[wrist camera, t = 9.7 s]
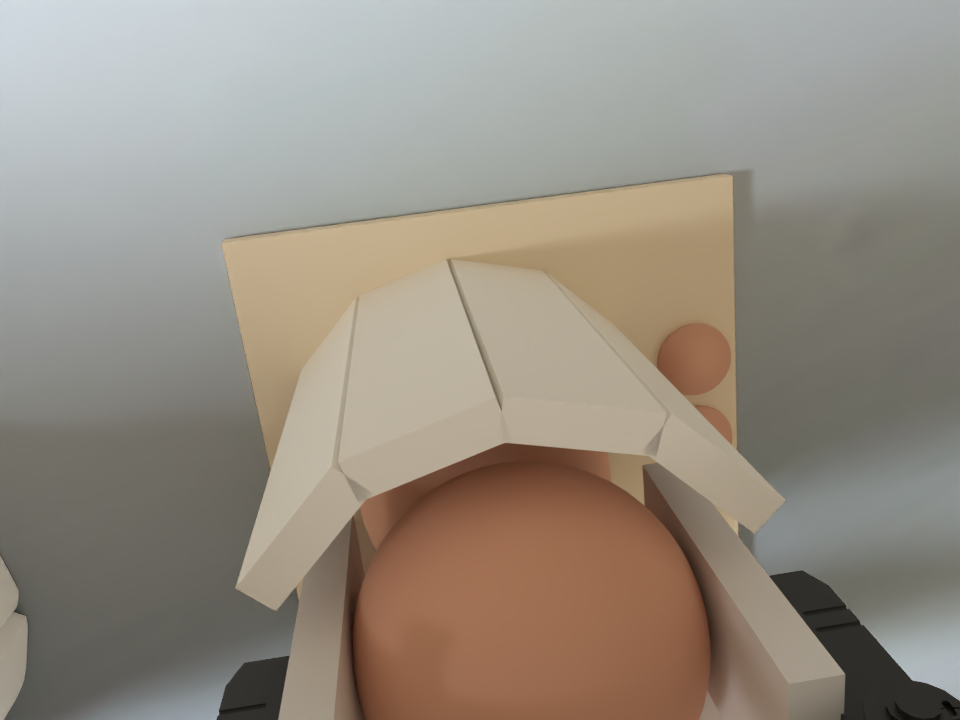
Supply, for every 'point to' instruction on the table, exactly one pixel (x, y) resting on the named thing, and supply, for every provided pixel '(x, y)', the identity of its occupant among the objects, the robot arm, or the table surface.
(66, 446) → the table surface
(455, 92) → the table surface
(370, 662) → the ball terracotta loose
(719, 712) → the robot arm
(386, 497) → the ball terracotta in tube
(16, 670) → the decorative vase
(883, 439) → the table surface
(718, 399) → the tube rack
